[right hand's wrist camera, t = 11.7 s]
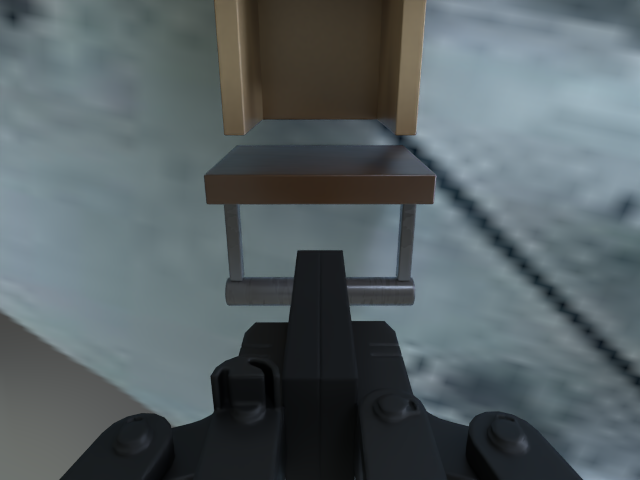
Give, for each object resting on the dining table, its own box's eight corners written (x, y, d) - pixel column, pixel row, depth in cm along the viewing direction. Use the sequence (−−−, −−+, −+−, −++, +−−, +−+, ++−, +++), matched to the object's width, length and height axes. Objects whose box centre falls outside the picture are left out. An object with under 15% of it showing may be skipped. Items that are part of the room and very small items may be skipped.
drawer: (395, 262, 26) (422, 328, 20) (244, 262, 26) (218, 328, 19) (434, -320, 17) (507, -569, 11) (205, -320, 17) (132, -570, 11)
